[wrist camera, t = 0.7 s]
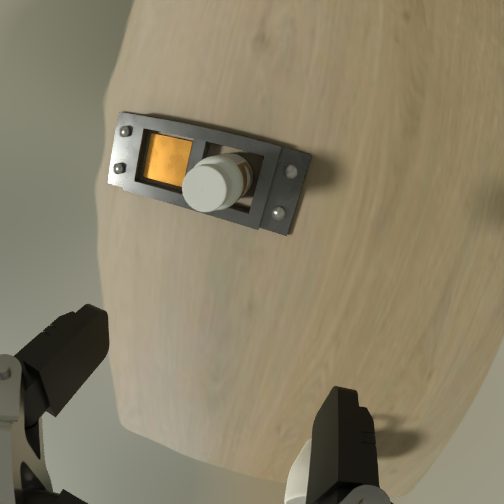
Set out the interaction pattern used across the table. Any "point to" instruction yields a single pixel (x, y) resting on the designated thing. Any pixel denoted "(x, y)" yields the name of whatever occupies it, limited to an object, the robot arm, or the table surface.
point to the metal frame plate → (178, 163)
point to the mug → (299, 477)
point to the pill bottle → (217, 182)
